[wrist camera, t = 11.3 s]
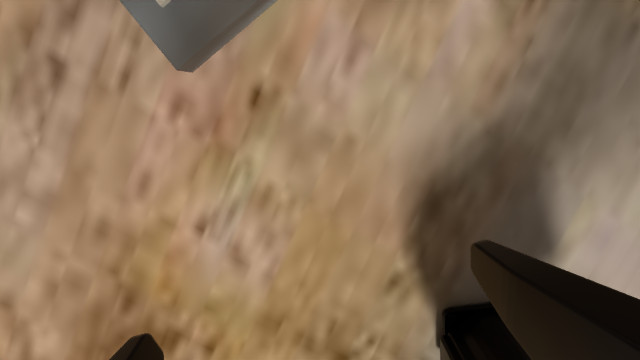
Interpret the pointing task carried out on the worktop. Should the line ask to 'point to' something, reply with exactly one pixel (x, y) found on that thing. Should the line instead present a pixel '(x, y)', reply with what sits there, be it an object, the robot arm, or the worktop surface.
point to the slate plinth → (193, 25)
